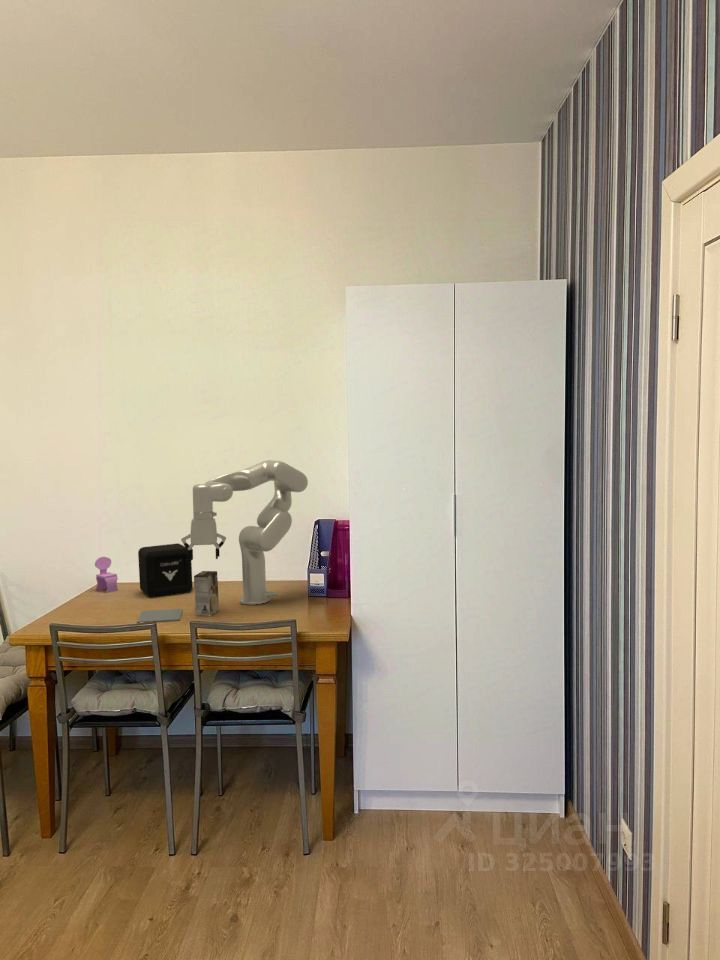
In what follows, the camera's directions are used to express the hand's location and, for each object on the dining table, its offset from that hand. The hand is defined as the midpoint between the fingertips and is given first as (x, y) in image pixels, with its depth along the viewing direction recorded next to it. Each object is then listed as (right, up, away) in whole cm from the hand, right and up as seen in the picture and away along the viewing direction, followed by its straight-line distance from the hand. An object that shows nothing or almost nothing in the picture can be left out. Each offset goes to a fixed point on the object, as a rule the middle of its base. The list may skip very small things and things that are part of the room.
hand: (204, 559), depth 311 cm
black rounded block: (-24, -19, +38) cm, 49 cm away
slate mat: (-17, -22, -1) cm, 28 cm away
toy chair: (-52, -19, +44) cm, 71 cm away
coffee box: (+1, -22, +3) cm, 22 cm away
